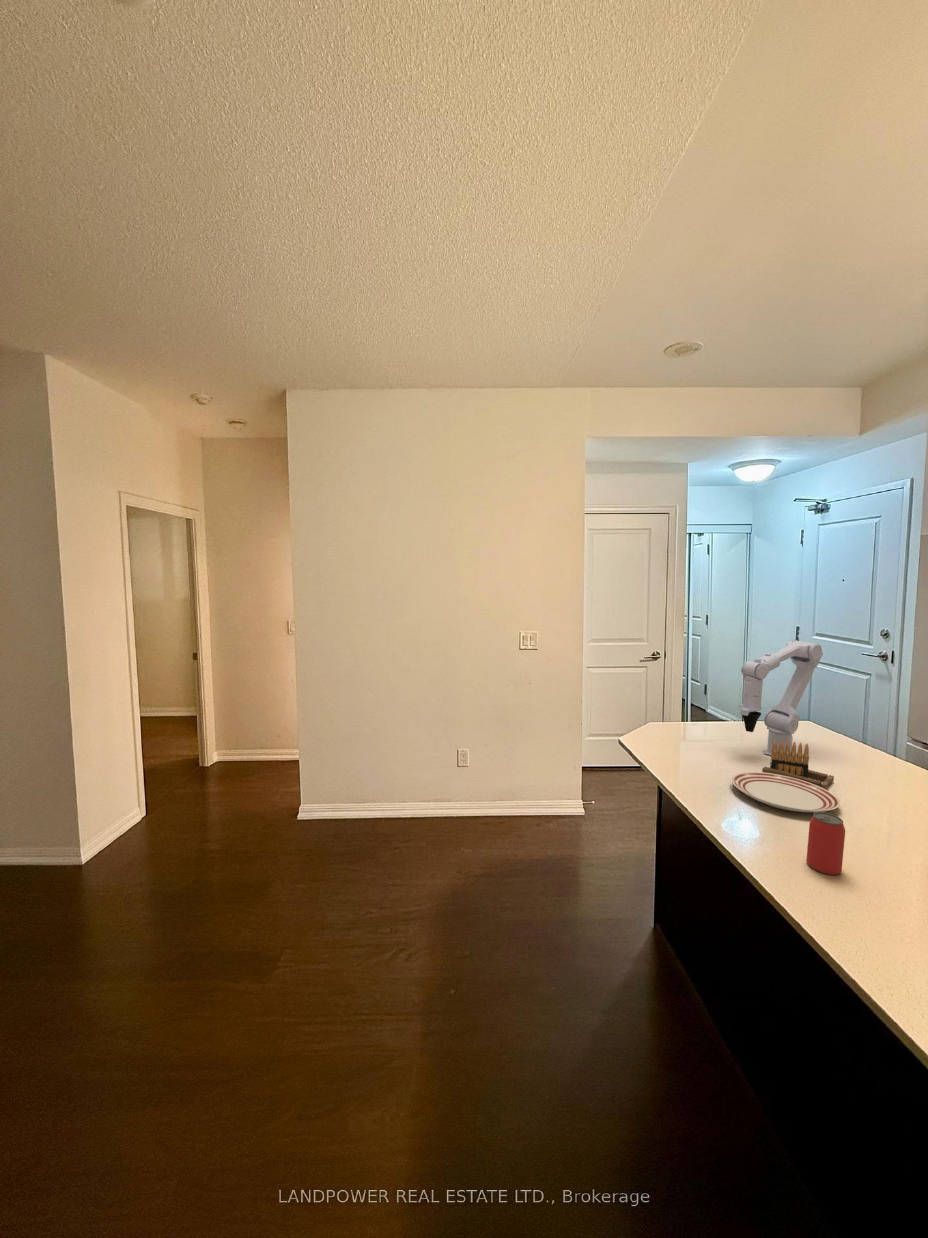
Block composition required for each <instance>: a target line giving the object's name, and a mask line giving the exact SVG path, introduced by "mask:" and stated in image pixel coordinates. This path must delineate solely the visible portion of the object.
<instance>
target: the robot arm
mask: <svg viewBox="0 0 928 1238" xmlns="http://www.w3.org/2000/svg"><path fill="white" fill-rule="evenodd" d="M823 654H824V653H823V649H822V646H821V644H819V643H817V642H808V641H802V640H801V641H800V640H797V639H792V640H790V641H787V643H786V645H785V646H784V647H783V648H781V649H779V650H778V651H776V652H775V653H772V652H766V653H764V655H762V656H760V657H758V658H757V657H756V658H755V659H754V660H747V661H746V662H744V663H743V664H742V666H741V669H740V672H741V674H742V680H743V693H742V694H743V695H742V703H739V704H738V707H739V708H741V711H740V715H741V716H742V717H741V718H742V719H743V723H744V727H745V731H746V732H749V733H753V732H754V731H755V728H756V726H757V725H756V724H757V723H758V720H759V718H760V717H761V716H762V712H761V710H762V699H763V698H762V694H763V686H764V685H763V683H764V679H766V677H767V676H768V675H769V673H770V672H771V671H774V670H775V669H777V668H779V667H780V665H781V662H784V661H786V660H789V659H790V660H791V662H792V664H794V665H795V667H796V668H795V671H794V672H793V675H792V677H791V679H790V681H789V682H788V685H787V687H786V689H785V691H784V693H783V696H782V698H781V700H780V701H779V703H777V704H776V705H773V706H771V707H770V709H769V710H768V711H767V712H766V713H765V714H764V718H763V723H764V725H765V726H766V729H767V730H768V734H767V746H766V747H767V748H766V750H765V751H763V753H762V754H764V755H767V756H771V757H772V750H773V744H774V741H775V739H776V740H777V751H779V746H780V742H781V740H783V744H784V753H785V749H786V744H787V741H789V743H790V756H791V751H792V745H793V735H794V733H796V732H797V730H798V728H799V722H800V719H801V717H800V715H799V713H798V712H797V711H796V710H797V707H798V705H799V703H800V702H801V699H802V697H803V695H804V693H805V691H806V689H807V687H808V684H809V682H810V680H811V678H812V676H813V674H814V672H815V671H816V670H815V669H816V668H817V667H818V666H819V663H820V661H821V659H822V657H823ZM777 758H778V755H777Z"/></svg>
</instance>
